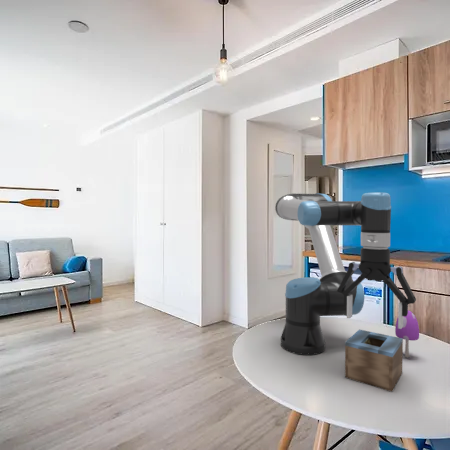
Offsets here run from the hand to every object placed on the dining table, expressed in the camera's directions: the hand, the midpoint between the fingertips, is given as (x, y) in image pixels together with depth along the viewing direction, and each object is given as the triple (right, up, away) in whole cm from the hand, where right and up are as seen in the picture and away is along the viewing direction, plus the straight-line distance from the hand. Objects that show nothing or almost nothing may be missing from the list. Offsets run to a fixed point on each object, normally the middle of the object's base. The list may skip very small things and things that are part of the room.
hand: (373, 322), depth 92 cm
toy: (+16, -15, +12) cm, 25 cm away
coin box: (0, -15, 0) cm, 15 cm away
